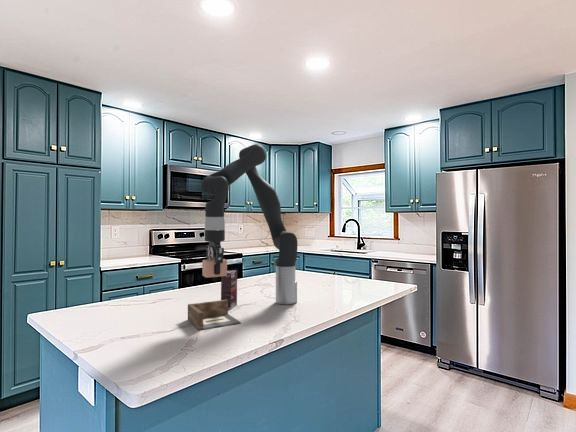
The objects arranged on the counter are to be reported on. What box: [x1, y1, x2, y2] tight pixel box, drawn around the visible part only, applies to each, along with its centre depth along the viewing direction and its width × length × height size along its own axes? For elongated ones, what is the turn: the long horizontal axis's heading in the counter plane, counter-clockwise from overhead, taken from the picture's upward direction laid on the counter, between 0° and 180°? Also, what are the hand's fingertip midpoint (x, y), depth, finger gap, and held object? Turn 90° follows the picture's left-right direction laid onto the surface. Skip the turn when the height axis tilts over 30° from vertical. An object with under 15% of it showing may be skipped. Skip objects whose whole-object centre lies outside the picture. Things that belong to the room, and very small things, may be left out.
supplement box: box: [220, 269, 238, 311], centre depth 159 cm, size 9×5×16 cm, turn 168°
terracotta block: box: [201, 258, 228, 279], centre depth 137 cm, size 5×8×6 cm, turn 120°
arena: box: [187, 299, 242, 331], centre depth 137 cm, size 16×15×6 cm
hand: (214, 273), depth 137 cm, fingers closed on terracotta block, 5 cm apart
